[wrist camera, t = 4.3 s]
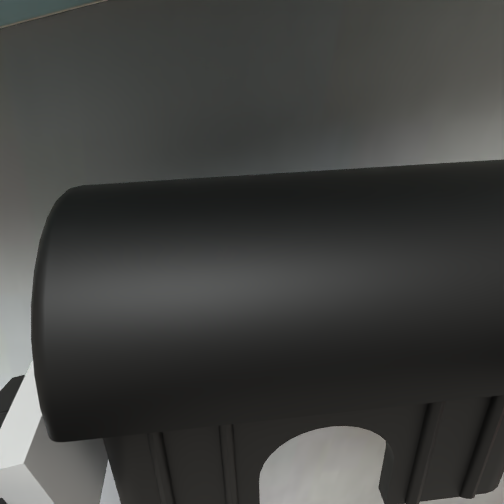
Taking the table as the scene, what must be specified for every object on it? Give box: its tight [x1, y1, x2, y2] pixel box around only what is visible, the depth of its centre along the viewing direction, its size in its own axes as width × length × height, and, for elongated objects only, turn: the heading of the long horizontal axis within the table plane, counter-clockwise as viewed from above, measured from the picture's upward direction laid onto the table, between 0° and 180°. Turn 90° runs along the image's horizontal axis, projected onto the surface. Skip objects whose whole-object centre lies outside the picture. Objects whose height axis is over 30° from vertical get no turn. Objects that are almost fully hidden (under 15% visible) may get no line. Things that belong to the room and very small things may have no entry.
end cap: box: [31, 160, 504, 504], centre depth 11 cm, size 10×7×7 cm
